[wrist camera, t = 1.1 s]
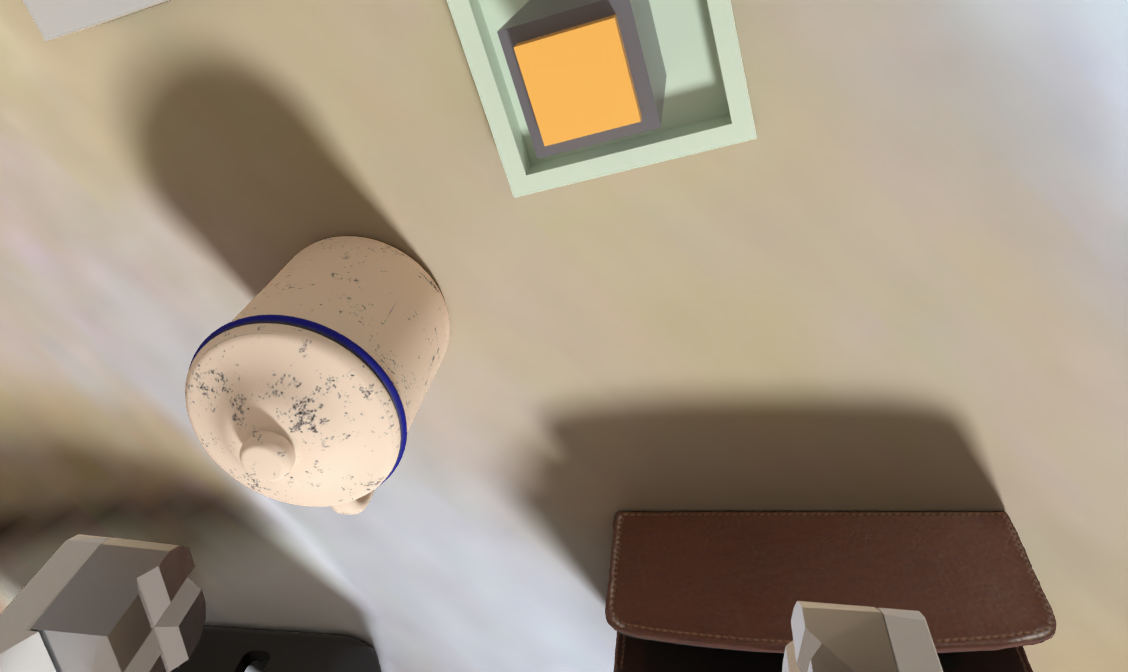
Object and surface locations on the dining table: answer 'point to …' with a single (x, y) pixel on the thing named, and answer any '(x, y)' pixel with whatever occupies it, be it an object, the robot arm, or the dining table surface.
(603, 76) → the plug
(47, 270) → the dining table surface
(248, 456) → the teacup with lid
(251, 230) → the dining table surface
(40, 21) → the power strip
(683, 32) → the tray
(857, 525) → the letter holder
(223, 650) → the black machined bracket
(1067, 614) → the dining table surface
